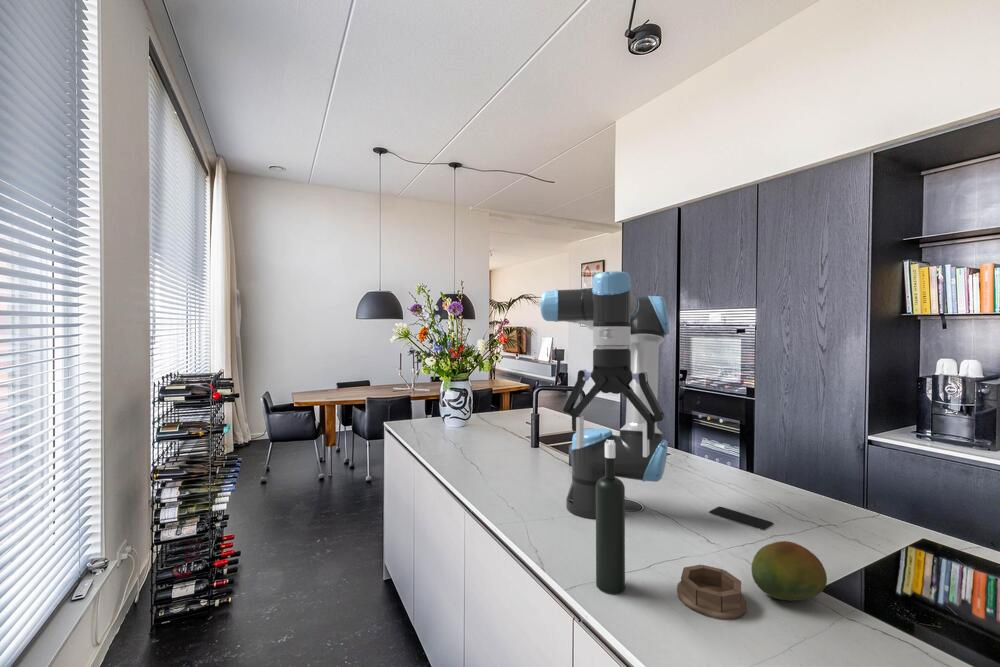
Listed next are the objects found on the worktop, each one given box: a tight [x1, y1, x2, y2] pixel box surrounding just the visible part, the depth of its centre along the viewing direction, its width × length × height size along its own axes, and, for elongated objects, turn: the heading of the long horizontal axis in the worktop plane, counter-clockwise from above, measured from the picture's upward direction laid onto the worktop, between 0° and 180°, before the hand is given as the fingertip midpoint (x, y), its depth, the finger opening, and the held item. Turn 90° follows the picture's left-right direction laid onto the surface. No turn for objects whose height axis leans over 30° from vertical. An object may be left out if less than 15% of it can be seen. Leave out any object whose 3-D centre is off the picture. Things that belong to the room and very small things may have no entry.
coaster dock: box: [676, 564, 748, 620], centre depth 86 cm, size 12×12×4 cm
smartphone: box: [708, 506, 775, 532], centre depth 124 cm, size 7×1×15 cm
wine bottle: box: [595, 440, 626, 595], centre depth 91 cm, size 6×6×30 cm
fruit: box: [750, 540, 828, 601], centre depth 87 cm, size 12×13×10 cm
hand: (611, 451), depth 90 cm, fingers open, 13 cm apart
